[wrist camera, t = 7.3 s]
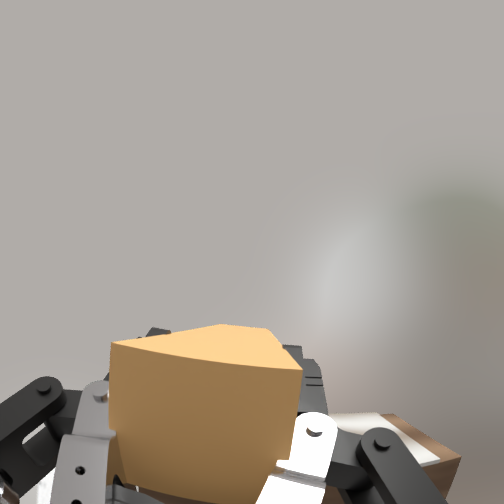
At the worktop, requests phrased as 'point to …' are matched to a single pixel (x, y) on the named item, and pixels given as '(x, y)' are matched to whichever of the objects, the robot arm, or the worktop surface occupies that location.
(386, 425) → the walnut stand
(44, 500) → the worktop surface
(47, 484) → the worktop surface
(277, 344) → the wooden bar
